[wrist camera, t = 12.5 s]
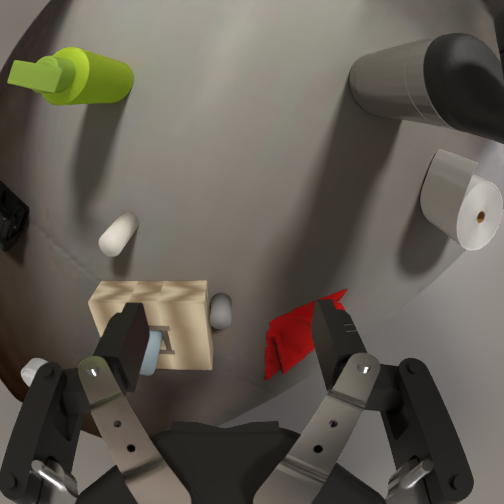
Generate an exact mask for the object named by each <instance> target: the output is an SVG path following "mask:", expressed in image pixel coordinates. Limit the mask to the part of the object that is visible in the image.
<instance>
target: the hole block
mask: <svg viewBox="0 0 504 504" xmlns="http://www.w3.org/2000/svg"><path fill="white" fill-rule="evenodd" d="M127 302H137V303H142V304H143V306H144V310H145V313H146V317H147V321H148V325H149V329H150V330H156V331H162V333H163V338H162V342H161V347H160V351H159V355H158V359H157V363H156V368H158V369H182V370H212V362H213V337H212V328H211V324H210V308H209V297H208V286H207V281H101V282H100V284H99V285H98V287H97V289H96V290H95V292H94V293H93V295H92V297H91V298H90V300H89V302H88V304H89V307H90V310H91V312H92V315H93V318H94V321H95V323H96V326H97V329H98V331H99V334H100V336H101V337H102V335H103V332H104V330H105V328H106V326H107V324H108V322H109V320H110V318H111V317H112V316H114V315H115V314H116V313H117V312H119V313H121V312H122V310H123V308H124V306H125V304H126V303H127Z"/></svg>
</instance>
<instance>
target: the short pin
mask: <svg viewBox="0 0 504 504" xmlns="http://www.w3.org/2000/svg"><path fill="white" fill-rule="evenodd" d="M210 324H211V326H213V327H214V328H216V329H226V328H228V327H229V326H230V325H231V298H230V297H229V296H228V295H227V294H224V293H218V294H216V295H214V296H213V297H212V300H211V311H210Z"/></svg>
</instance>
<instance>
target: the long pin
mask: <svg viewBox="0 0 504 504" xmlns="http://www.w3.org/2000/svg"><path fill="white" fill-rule="evenodd" d="M162 338H163V333H162V331H156V330H150V338H149V342H148V345H147V349H146V352H145V356H144V359H143V363H142V366H141V370H140V374H143V375H152V374H153V373H154V372H155V368H156V363H157V359H158V355H159V351H160V347H161V342H162Z"/></svg>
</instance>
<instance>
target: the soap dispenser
mask: <svg viewBox="0 0 504 504" xmlns="http://www.w3.org/2000/svg"><path fill="white" fill-rule="evenodd" d="M7 83H10V84H14V85H18V86H22V87H27V88H31V89H32V90H33V91H35V92H37V93H42V94H43V96H44V98H45V99H46V100H47V101H48V102H49V103H51V104H53V105H72V104H92V103H115V102H118V101H120V100H122V99H123V98H124V97H126V95H127V94H128V93H129V92H130V90H131V88H132V85H133V73H132V70H131V69H130V67H129V66H128V65H126V64H125V63H122V62H119V61H117V60H114V59H111V58H108V57H105V56H102V55H99V54H95V53H92V52H89V51H86V50H82V49H79V48H75V47H68V48H64V49H62V50H60V51H58V52H57V53H55V54H54V55H53V56H45V57H43V58H41V59H40V60H38V61H37V62H36V63H31V62H24V61H18V60H14V63H13V66H12V69H11V72H10V75H9V78H8V82H7Z"/></svg>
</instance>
